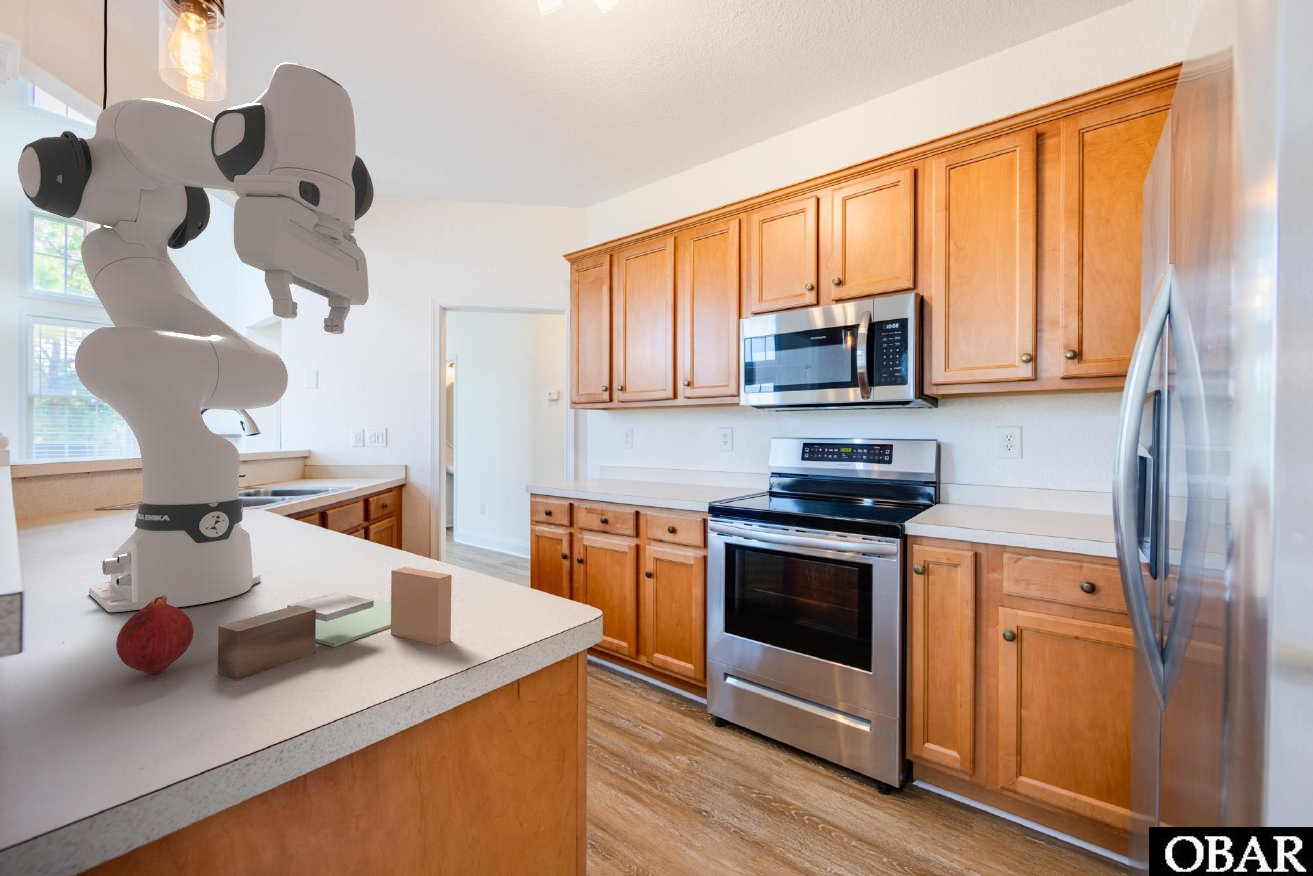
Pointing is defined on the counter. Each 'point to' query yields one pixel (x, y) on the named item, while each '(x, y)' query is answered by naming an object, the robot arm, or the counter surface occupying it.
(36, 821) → the counter surface
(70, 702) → the counter surface
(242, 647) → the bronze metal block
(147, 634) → the onion
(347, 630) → the plate
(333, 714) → the counter surface
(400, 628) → the tile
